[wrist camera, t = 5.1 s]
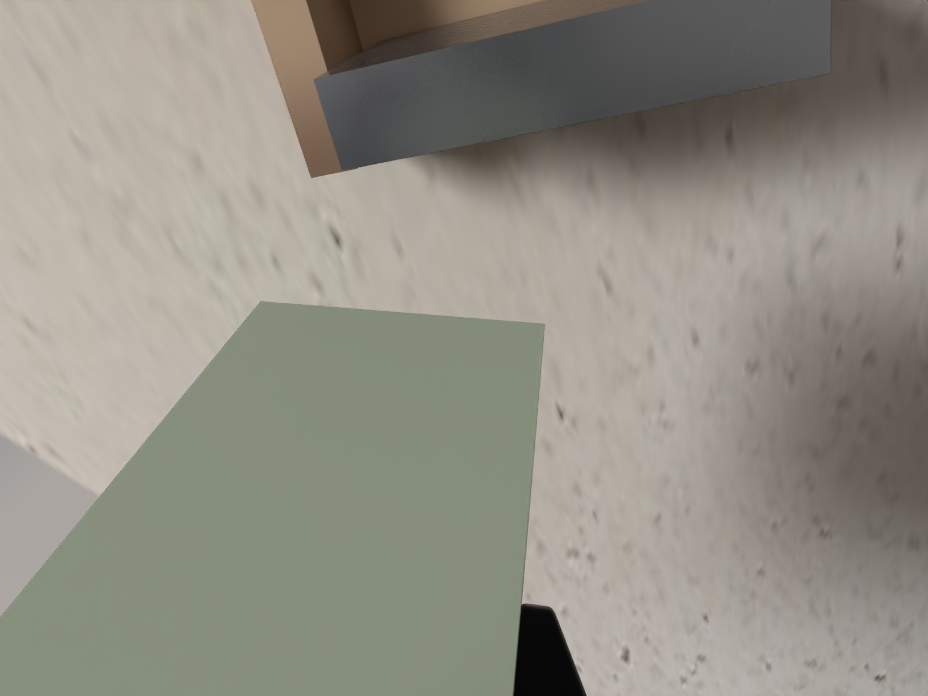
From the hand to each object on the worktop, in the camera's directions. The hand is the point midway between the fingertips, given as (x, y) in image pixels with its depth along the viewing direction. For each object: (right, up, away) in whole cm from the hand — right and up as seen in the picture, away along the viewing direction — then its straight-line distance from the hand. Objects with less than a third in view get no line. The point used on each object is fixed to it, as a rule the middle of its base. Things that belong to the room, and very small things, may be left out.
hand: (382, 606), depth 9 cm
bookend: (+3, +10, +6) cm, 12 cm away
